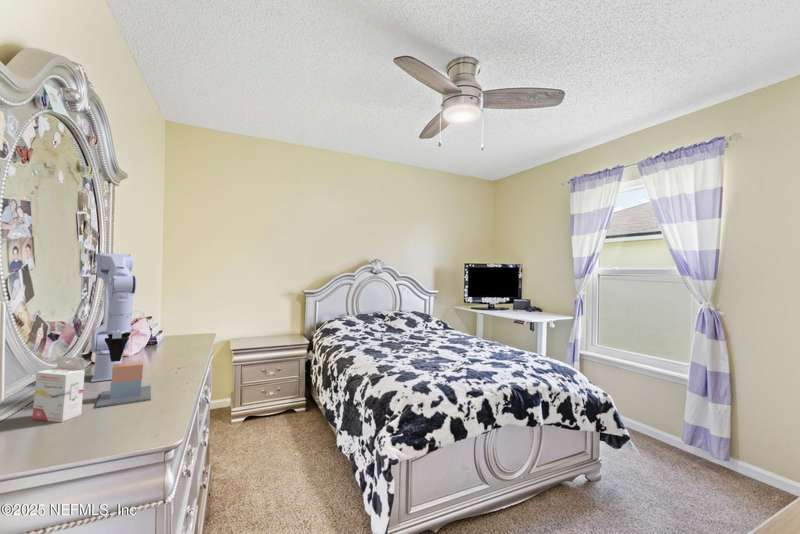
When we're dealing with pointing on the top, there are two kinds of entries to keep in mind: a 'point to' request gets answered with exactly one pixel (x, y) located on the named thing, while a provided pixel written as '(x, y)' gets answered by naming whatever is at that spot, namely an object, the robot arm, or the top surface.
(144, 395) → the baseplate
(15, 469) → the top surface
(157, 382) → the top surface
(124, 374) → the upper brick
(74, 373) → the ink cartridge box
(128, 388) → the lower brick
